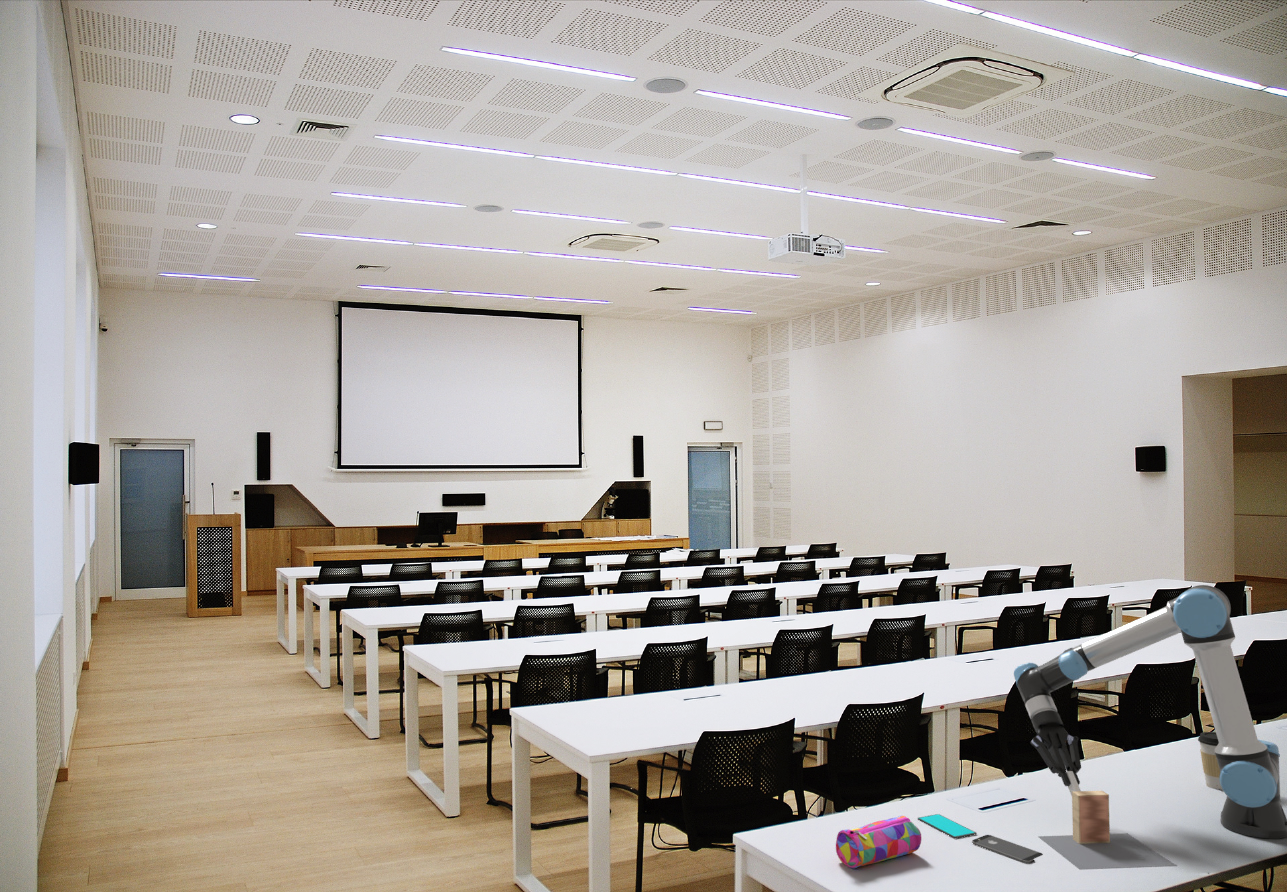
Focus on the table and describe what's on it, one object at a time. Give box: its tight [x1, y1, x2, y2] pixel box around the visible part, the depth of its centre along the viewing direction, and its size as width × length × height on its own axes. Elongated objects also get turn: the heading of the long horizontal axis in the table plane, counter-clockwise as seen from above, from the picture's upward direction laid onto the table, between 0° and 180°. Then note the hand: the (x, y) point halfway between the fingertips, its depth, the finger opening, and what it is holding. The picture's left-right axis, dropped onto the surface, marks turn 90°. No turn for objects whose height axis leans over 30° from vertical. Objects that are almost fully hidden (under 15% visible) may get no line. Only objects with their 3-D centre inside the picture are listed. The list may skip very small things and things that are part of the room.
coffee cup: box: [1197, 731, 1223, 791], centre depth 276 cm, size 10×10×15 cm
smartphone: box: [917, 813, 978, 839], centre depth 246 cm, size 7×1×15 cm
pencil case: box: [835, 814, 922, 869], centre depth 226 cm, size 22×9×9 cm, turn 119°
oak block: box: [1071, 790, 1111, 844], centre depth 234 cm, size 8×3×12 cm, turn 94°
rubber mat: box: [1037, 832, 1178, 870], centre depth 228 cm, size 24×20×1 cm
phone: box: [971, 834, 1044, 865], centre depth 231 cm, size 8×1×16 cm
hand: (1077, 796), depth 241 cm, fingers closed
